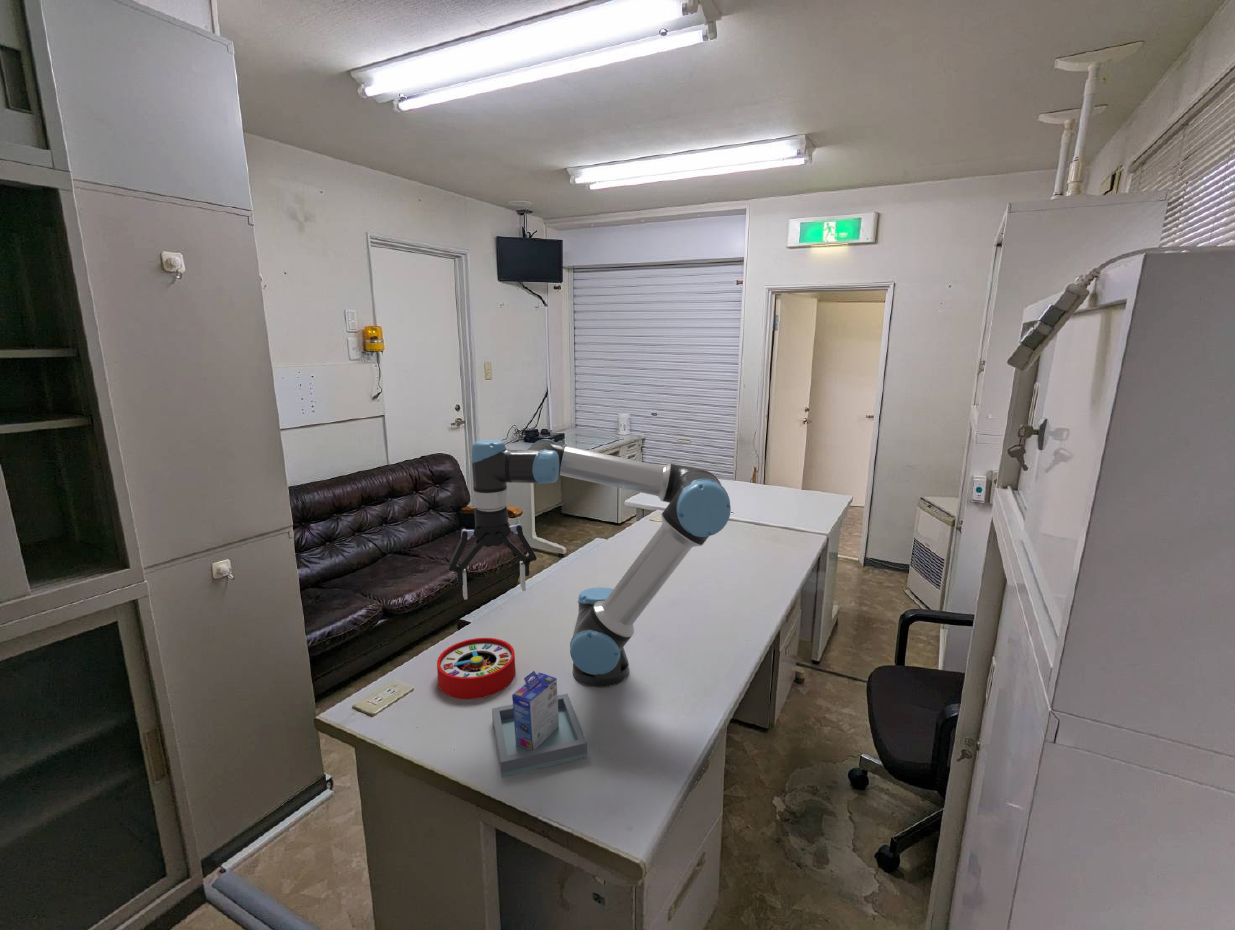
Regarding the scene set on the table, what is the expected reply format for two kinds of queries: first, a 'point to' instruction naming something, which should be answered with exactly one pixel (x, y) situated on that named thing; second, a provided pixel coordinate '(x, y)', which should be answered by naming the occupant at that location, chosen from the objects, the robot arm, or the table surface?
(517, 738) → the ink cartridge box
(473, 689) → the toy clock
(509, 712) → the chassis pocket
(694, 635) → the table surface
